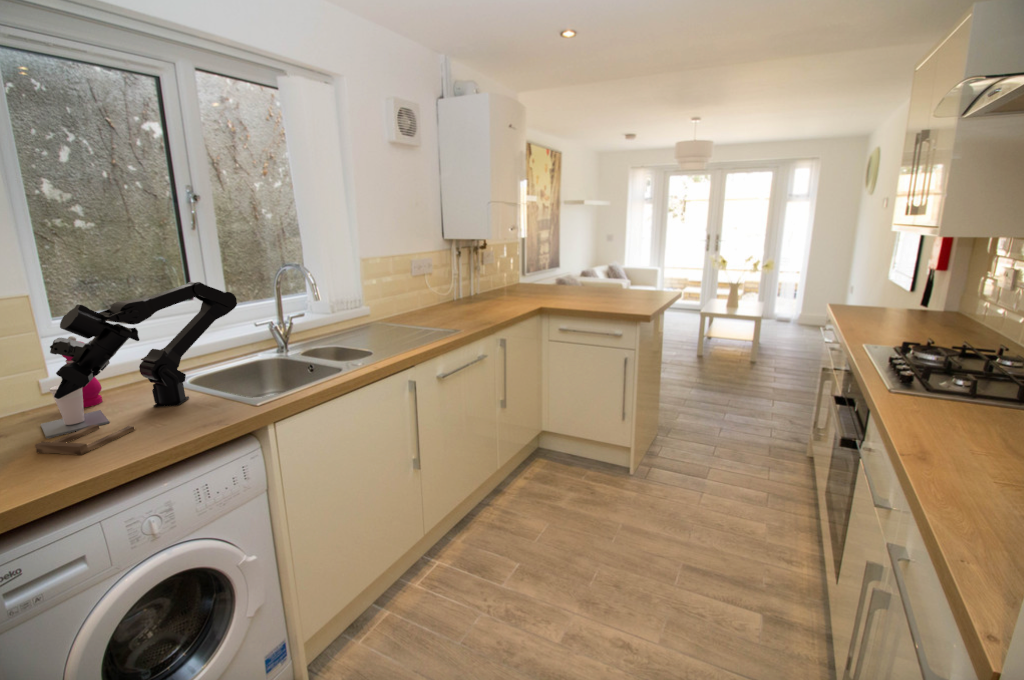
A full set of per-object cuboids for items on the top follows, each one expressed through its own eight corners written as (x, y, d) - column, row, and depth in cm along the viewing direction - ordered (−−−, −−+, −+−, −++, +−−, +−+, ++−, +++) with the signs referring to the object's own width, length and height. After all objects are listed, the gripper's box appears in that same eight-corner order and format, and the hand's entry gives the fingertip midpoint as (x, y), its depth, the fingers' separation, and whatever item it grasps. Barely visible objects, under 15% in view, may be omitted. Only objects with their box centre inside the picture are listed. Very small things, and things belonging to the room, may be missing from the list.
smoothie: (53, 428, 121) (39, 373, 118) (64, 420, 127) (52, 368, 124) (85, 423, 123) (72, 370, 120) (95, 416, 129) (83, 364, 126)
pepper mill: (78, 410, 135) (59, 340, 130) (67, 406, 139) (49, 337, 134) (109, 402, 141) (92, 334, 136) (98, 397, 145) (82, 332, 140)
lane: (93, 428, 123) (92, 420, 122) (134, 430, 121) (132, 422, 121) (36, 452, 110) (34, 444, 109) (81, 455, 108) (79, 446, 108)
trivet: (100, 411, 134) (100, 409, 133) (109, 423, 126) (109, 420, 126) (40, 425, 125) (40, 423, 125) (46, 438, 117) (45, 436, 117)
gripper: (83, 319, 129) (40, 366, 127) (57, 333, 113) (7, 387, 111) (126, 344, 134) (86, 389, 133) (107, 361, 118) (60, 412, 116)
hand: (61, 393), depth 123 cm, fingers closed on smoothie, 6 cm apart
